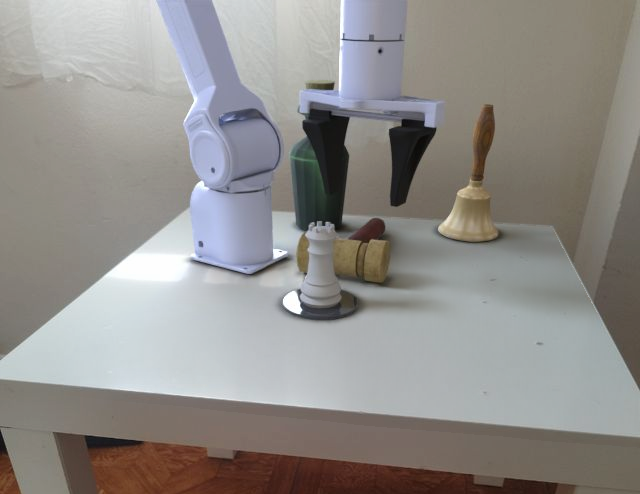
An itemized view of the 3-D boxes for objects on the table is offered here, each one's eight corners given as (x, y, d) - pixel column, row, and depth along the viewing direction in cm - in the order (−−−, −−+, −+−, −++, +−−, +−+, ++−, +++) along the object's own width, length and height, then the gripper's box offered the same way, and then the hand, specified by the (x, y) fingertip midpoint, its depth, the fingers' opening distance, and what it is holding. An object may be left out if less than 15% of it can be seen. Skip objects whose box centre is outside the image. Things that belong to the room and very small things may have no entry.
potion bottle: (329, 237, 83) (331, 87, 73) (279, 227, 87) (275, 82, 76) (357, 222, 89) (363, 80, 79) (309, 213, 92) (309, 76, 82)
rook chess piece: (300, 292, 67) (300, 218, 62) (341, 293, 67) (344, 218, 62) (298, 309, 63) (297, 231, 59) (341, 310, 63) (344, 232, 59)
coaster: (267, 307, 64) (267, 305, 64) (309, 283, 70) (309, 281, 70) (332, 326, 61) (332, 323, 61) (371, 299, 66) (371, 297, 66)
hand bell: (509, 232, 86) (532, 104, 77) (479, 246, 81) (501, 111, 72) (457, 220, 90) (474, 98, 81) (426, 233, 85) (440, 104, 76)
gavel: (348, 201, 86) (419, 209, 83) (346, 235, 88) (415, 243, 86) (295, 236, 69) (382, 246, 66) (295, 276, 71) (379, 288, 68)
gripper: (279, 38, 55) (283, 195, 63) (427, 45, 48) (411, 219, 56) (322, 35, 60) (321, 181, 67) (462, 41, 53) (443, 202, 61)
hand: (364, 198), depth 62 cm, fingers open, 7 cm apart
